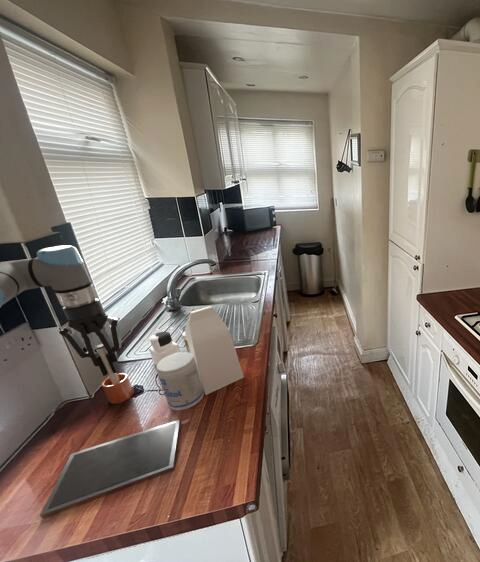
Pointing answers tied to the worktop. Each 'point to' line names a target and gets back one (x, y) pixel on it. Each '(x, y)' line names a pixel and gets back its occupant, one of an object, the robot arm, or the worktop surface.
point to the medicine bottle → (162, 346)
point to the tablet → (114, 467)
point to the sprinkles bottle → (186, 341)
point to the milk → (212, 349)
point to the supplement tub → (180, 380)
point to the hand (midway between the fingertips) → (111, 371)
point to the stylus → (107, 364)
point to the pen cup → (118, 389)
